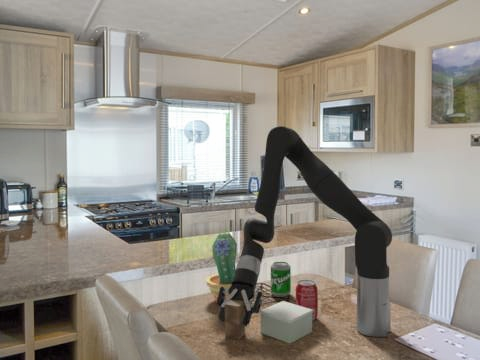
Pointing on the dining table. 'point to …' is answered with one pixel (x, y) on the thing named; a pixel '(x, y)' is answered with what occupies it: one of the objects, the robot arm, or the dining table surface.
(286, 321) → the storage box
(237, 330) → the walnut block
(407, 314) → the dining table surface
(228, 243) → the potted cactus
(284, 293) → the soda can
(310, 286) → the soda can
